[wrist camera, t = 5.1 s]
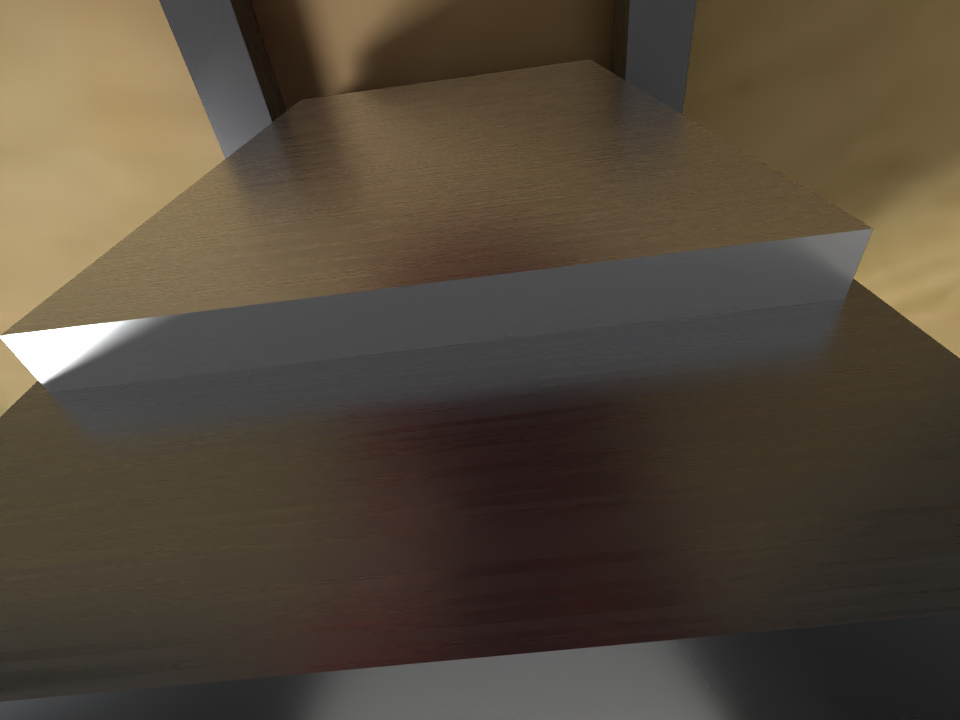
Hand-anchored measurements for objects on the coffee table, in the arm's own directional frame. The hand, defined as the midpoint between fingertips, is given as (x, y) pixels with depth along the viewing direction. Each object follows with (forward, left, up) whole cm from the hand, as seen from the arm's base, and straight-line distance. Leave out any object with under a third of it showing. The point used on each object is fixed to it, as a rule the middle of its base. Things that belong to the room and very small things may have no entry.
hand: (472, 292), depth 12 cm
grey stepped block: (0, 0, -1) cm, 1 cm away
